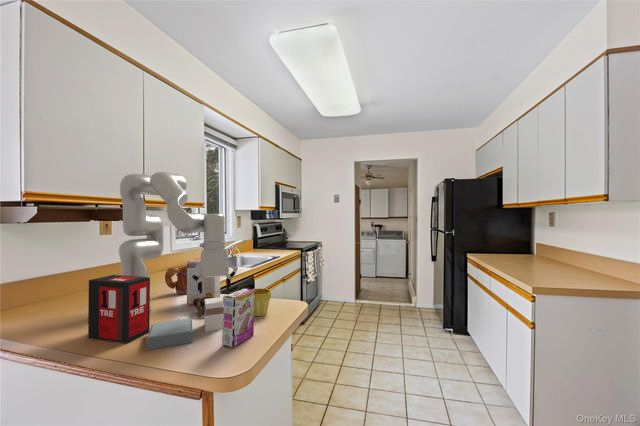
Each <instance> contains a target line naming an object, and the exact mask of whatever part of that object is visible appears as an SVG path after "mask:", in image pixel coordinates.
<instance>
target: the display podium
mask: <svg viewBox="0 0 640 426" xmlns="http://www.w3.org/2000/svg"><path fill="white" fill-rule="evenodd" d="M147 335H148V336H147V337H146V351H151V350H152V351H153V350H158V349H164V348H169V347H174V346H176V347H177V346H183V345H189V344H192V343H193V320H192V318H185V319H177V320H169V321H160V322H154V323H153V324H151V325H150V328H149V333H148V334H147Z"/></svg>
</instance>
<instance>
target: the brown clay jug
mask: <svg viewBox="0 0 640 426" xmlns="http://www.w3.org/2000/svg"><path fill="white" fill-rule="evenodd" d="M210 298H214V297H211V296H205V297H202V298H201V299H199V298H196V299H194V301H193V304H194V305H193V306H194V307H195V308H196V310H197V311H198V312H197V316H198V317H200V318H201V317H202V316H205V310H204V307H205V299H210ZM202 301H204V302H202Z"/></svg>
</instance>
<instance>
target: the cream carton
mask: <svg viewBox="0 0 640 426" xmlns="http://www.w3.org/2000/svg"><path fill="white" fill-rule="evenodd" d="M204 310H205V314H204V320H203V321H204V322H203V323H204V331H205V332H211V331H219V330H223V299H222V297H221V296H220V297H219V298H210V299H205V307H204Z"/></svg>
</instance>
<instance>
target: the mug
mask: <svg viewBox="0 0 640 426" xmlns="http://www.w3.org/2000/svg"><path fill="white" fill-rule="evenodd" d="M175 275H176V281H173V279H172V278H173V276H175ZM164 282H165V284H166V286H167V287H168V288H170V289H173V290H174V289H175V293H176V294H178V295H187V265H185V266H178V268H176V267H172V266H171V267H169V268H168V269H167V270H166V272H165V274H164Z"/></svg>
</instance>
